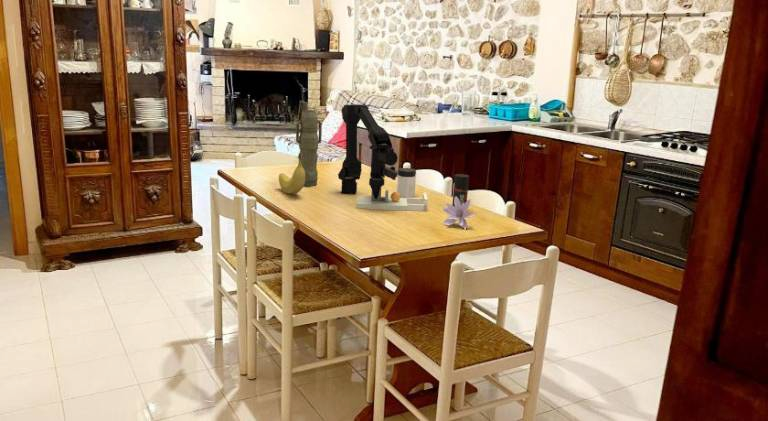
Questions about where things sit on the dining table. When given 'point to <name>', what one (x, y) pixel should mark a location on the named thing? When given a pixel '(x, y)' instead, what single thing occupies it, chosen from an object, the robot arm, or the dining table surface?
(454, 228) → the dining table surface
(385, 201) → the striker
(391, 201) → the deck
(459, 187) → the deodorant
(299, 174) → the banana
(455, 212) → the water lily
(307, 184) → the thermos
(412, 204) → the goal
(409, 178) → the jar
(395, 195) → the ball
